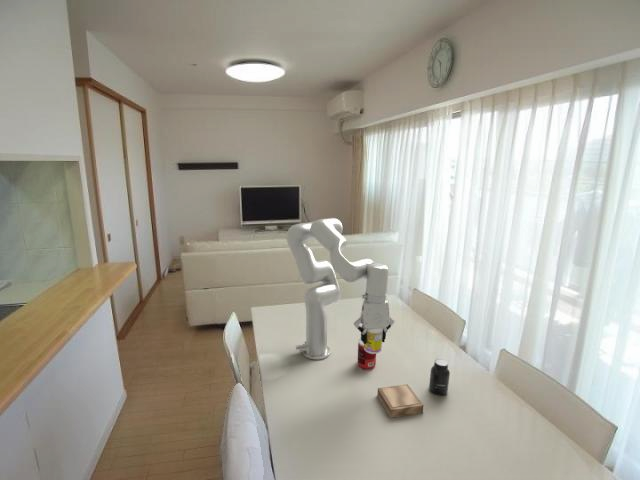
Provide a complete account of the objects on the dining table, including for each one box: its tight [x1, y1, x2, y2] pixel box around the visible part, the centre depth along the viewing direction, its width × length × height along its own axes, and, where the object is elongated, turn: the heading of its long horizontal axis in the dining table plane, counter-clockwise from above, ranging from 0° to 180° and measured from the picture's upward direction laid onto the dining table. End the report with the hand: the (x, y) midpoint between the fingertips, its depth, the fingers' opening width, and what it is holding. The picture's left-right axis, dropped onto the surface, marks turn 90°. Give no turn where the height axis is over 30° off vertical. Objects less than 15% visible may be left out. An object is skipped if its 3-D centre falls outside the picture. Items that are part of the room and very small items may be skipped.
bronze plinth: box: [376, 384, 424, 419], centre depth 125 cm, size 12×12×3 cm
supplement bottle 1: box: [364, 328, 383, 355], centre depth 131 cm, size 7×7×13 cm
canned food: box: [357, 338, 377, 371], centre depth 148 cm, size 8×8×11 cm
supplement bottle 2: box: [428, 358, 451, 396], centre depth 132 cm, size 7×7×12 cm
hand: (373, 341), depth 132 cm, fingers closed on supplement bottle 1, 6 cm apart
